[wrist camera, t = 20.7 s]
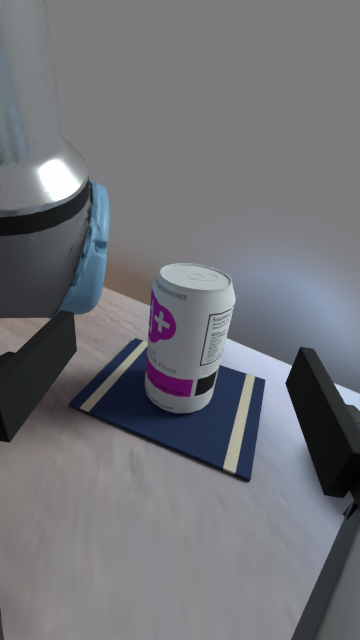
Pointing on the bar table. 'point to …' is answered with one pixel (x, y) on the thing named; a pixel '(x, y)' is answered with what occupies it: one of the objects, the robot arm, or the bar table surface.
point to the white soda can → (187, 335)
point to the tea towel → (180, 428)
